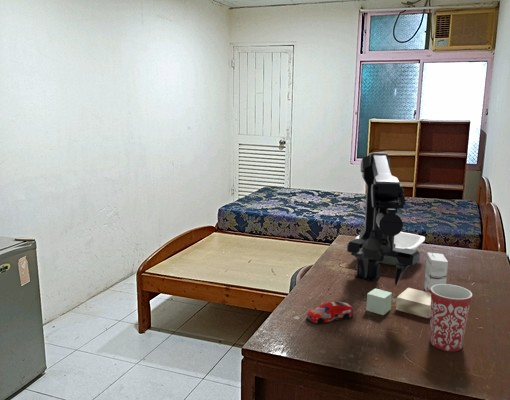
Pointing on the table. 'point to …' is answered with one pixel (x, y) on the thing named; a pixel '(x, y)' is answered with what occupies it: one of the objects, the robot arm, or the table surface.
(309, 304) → the table surface
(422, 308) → the slab
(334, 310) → the race car
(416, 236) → the bowl
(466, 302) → the mug
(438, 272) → the ink box
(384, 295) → the cube
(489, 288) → the table surface
